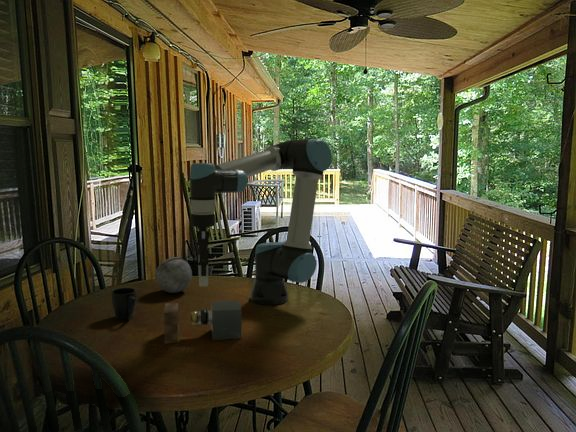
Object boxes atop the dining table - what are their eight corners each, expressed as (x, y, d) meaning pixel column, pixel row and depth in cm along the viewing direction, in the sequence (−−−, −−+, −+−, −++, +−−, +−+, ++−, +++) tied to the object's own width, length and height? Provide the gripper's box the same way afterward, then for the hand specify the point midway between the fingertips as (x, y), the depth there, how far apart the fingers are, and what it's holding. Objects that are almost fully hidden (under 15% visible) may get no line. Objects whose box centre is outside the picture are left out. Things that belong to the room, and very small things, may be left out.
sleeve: (238, 327, 150) (238, 300, 148) (241, 338, 141) (241, 309, 140) (211, 329, 148) (211, 301, 146) (212, 340, 139) (212, 310, 138)
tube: (234, 319, 147) (234, 305, 146) (236, 325, 142) (236, 310, 142) (191, 322, 144) (191, 308, 143) (191, 328, 139) (191, 313, 139)
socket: (178, 331, 146) (178, 302, 144) (178, 342, 137) (177, 312, 136) (166, 332, 145) (165, 303, 143) (164, 343, 136) (163, 313, 135)
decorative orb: (181, 285, 198) (181, 252, 196) (198, 292, 187) (198, 258, 185) (150, 291, 188) (149, 256, 186) (166, 300, 177) (165, 263, 175)
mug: (121, 326, 149) (120, 298, 148) (108, 316, 158) (107, 290, 157) (144, 320, 155) (144, 294, 153) (131, 311, 164) (130, 286, 162)
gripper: (190, 208, 149) (191, 270, 152) (190, 218, 125) (190, 291, 128) (213, 208, 151) (213, 269, 153) (217, 218, 126) (217, 290, 129)
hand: (203, 280), depth 140 cm, fingers open, 13 cm apart
